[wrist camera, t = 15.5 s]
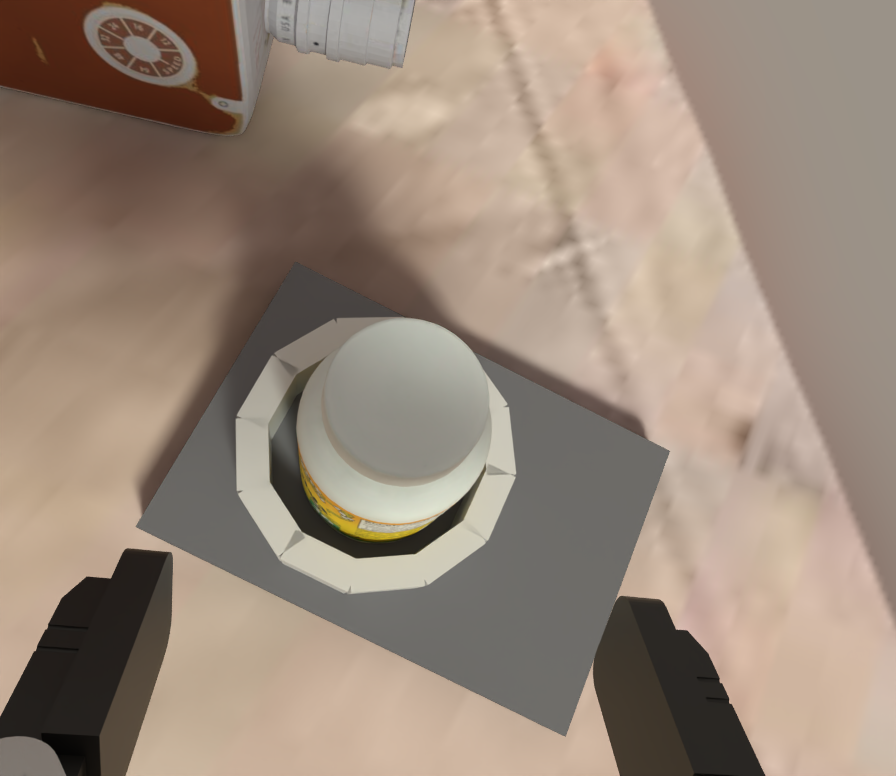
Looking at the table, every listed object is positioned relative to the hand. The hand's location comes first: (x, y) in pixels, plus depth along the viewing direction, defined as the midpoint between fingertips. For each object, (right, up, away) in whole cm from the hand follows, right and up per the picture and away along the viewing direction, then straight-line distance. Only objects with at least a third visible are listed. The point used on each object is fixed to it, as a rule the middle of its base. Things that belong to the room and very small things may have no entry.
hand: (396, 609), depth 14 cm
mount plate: (0, 0, +15) cm, 15 cm away
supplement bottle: (-2, +1, +14) cm, 14 cm away
